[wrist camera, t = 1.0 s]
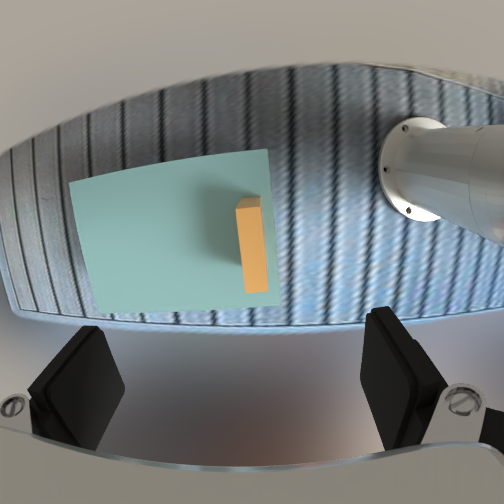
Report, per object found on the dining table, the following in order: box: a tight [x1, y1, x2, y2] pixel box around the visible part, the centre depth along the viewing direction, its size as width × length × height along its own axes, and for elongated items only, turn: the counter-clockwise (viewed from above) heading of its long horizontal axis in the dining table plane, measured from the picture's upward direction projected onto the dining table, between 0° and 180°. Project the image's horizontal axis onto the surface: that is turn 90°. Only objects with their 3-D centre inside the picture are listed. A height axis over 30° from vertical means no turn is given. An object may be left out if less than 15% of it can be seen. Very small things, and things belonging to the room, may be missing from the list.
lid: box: [69, 149, 281, 313], centre depth 25 cm, size 19×14×8 cm
